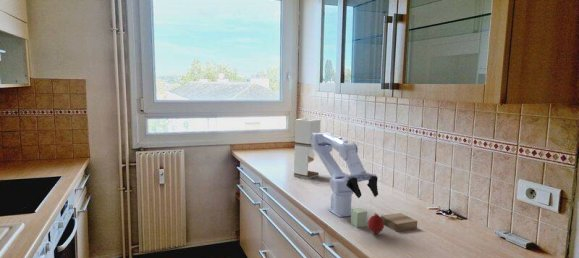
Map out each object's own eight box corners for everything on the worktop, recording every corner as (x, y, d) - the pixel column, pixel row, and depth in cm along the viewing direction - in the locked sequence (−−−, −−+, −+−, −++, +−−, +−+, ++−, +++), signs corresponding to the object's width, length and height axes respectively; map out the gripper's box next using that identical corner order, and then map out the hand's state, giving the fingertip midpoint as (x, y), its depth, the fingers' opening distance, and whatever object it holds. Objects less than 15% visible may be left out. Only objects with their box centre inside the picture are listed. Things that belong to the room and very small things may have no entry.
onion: (381, 230, 145) (382, 210, 144) (385, 236, 139) (386, 215, 139) (366, 230, 145) (367, 210, 144) (369, 236, 139) (370, 215, 138)
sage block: (350, 223, 152) (351, 209, 151) (360, 222, 154) (360, 208, 153) (356, 227, 148) (357, 212, 147) (366, 226, 150) (366, 211, 149)
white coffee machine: (308, 179, 224) (310, 120, 221) (293, 176, 231) (295, 119, 227) (318, 175, 234) (320, 119, 230) (304, 173, 240) (306, 118, 236)
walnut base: (380, 222, 154) (380, 215, 154) (400, 220, 158) (400, 213, 158) (396, 231, 145) (396, 224, 144) (417, 228, 149) (417, 221, 148)
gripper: (344, 161, 148) (356, 191, 139) (375, 160, 153) (388, 189, 145) (337, 172, 153) (348, 201, 144) (367, 171, 158) (380, 199, 150)
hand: (368, 196), depth 145 cm, fingers open, 7 cm apart
